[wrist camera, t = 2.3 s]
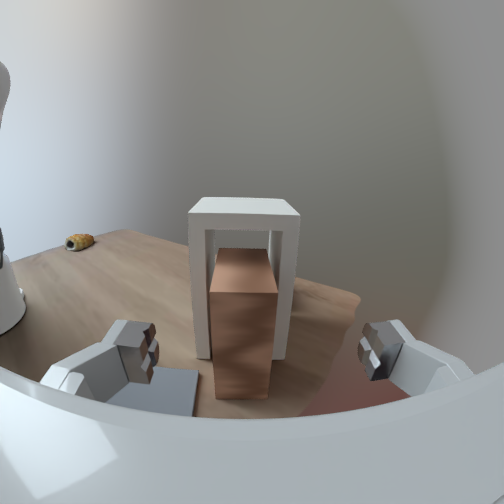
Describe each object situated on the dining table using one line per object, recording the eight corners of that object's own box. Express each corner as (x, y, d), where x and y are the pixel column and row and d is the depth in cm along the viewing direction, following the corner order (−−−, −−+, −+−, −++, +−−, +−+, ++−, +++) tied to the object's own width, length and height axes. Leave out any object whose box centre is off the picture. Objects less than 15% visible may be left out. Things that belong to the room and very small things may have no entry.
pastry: (84, 240, 69) (82, 228, 68) (99, 242, 68) (98, 229, 67) (63, 250, 61) (61, 237, 59) (78, 253, 60) (76, 239, 58)
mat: (71, 434, 16) (69, 431, 16) (107, 362, 26) (106, 359, 26) (186, 460, 16) (185, 458, 16) (199, 373, 27) (198, 370, 26)
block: (215, 398, 23) (209, 291, 20) (220, 339, 33) (219, 248, 29) (267, 399, 24) (278, 292, 20) (260, 339, 33) (266, 248, 29)
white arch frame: (197, 358, 29) (187, 212, 24) (205, 313, 38) (202, 197, 33) (284, 359, 29) (300, 215, 24) (274, 314, 39) (283, 199, 33)
